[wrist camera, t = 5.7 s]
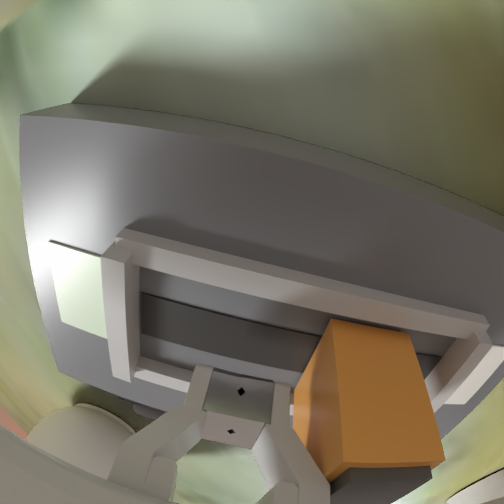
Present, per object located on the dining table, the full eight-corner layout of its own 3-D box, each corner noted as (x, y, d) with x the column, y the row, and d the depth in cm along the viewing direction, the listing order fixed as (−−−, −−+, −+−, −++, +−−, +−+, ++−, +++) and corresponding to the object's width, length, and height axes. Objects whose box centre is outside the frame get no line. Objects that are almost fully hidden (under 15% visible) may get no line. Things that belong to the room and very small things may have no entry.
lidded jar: (189, 448, 22) (163, 548, 14) (121, 457, 26) (95, 530, 18) (81, 370, 19) (23, 480, 11) (37, 396, 23) (-5, 471, 15)
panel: (543, 237, 11) (591, 284, 7) (424, 408, 17) (437, 461, 14) (69, 103, 10) (-5, 122, 7) (81, 335, 17) (49, 387, 13)
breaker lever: (408, 333, 10) (447, 472, 5) (361, 399, 12) (371, 516, 7) (331, 318, 10) (343, 477, 5) (294, 389, 12) (287, 516, 7)
